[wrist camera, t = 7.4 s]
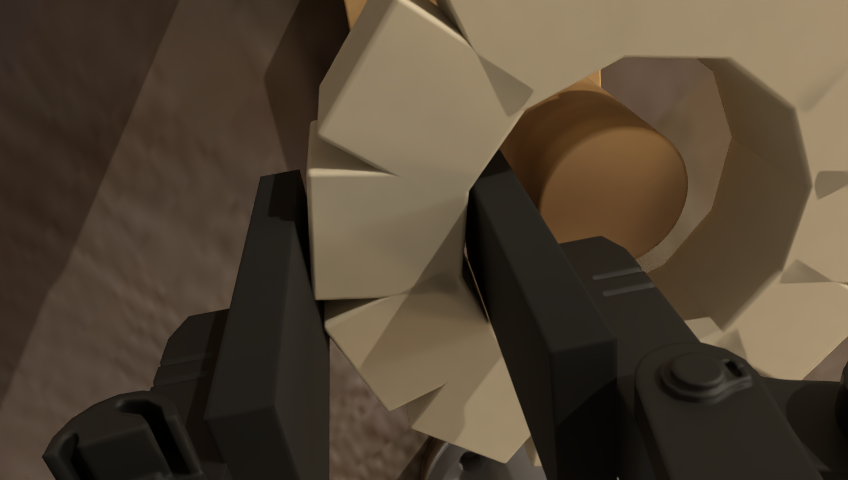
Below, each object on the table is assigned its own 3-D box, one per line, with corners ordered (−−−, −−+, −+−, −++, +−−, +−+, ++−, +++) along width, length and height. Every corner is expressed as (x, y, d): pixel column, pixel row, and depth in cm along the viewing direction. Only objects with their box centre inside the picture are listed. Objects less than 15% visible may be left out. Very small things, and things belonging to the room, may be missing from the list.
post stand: (589, 131, 28) (807, 342, 15) (377, 170, 27) (417, 419, 15) (583, -111, 23) (886, -100, 11) (331, -67, 23) (331, -3, 10)
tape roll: (758, 373, 17) (824, 448, 15) (321, 395, 16) (319, 483, 13) (937, -119, 12) (1081, -119, 10) (298, -155, 10) (290, -162, 8)
